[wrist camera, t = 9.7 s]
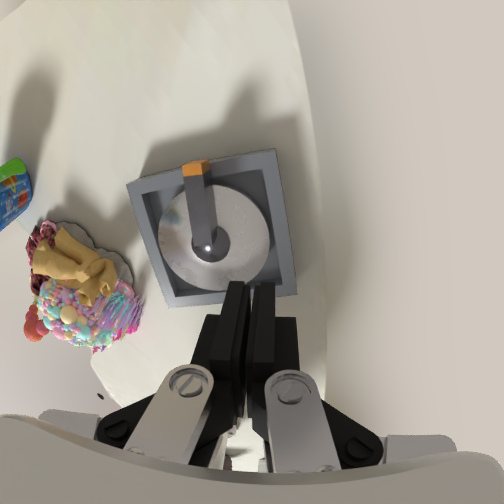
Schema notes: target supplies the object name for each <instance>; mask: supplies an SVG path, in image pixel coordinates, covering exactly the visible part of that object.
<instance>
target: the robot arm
mask: <svg viewBox="0 0 504 504" xmlns="http://www.w3.org/2000/svg"><path fill="white" fill-rule="evenodd" d="M246 392H247V412H248V418H252V429H253V430H254V431H255V432H256V433H257V434H258V435H260V436H261V437H262V438H263V447H264V455H265V463H266V471H267V473H260V472H243V471H231V470H223V464H224V458H225V451H226V445H227V438H230V437H232V436H233V435H235V433H236V429H237V426H236V424H237V417H241V418H243V415H244V406H245V398H246ZM0 504H504V470H503V469H502V467H501V465H500V464H499V463H498V462H497V461H496V460H495V459H494V458H493V457H490V456H489V455H485V454H481V453H477V452H467V451H465V452H457V449H456V446H455V443H454V442H453V441H452V439H451V438H449V437H447V436H445V435H387V437H378V436H376V435H375V434H374V433H373V432H371V431H370V430H368V429H366V428H365V427H363V426H361V425H360V424H358V423H357V422H355V421H354V420H352V419H350V418H349V417H347V416H346V415H344V414H343V413H341V412H340V411H338V410H337V409H335V408H334V407H332V406H330V405H329V404H327V403H326V402H325V401H323V400H322V399H321V398H320V395H319V392H318V388H317V385H316V383H315V381H314V380H313V379H312V378H311V377H310V376H309V375H308V374H306V373H304V372H302V371H300V366H299V352H298V338H297V325H296V317H275V282H261V283H260V285H255V287H254V295H253V303H252V311H251V288H250V285H245V281H229V285H228V288H227V292H226V295H225V299H224V303H223V306H222V310H221V314H220V315H214V314H207V315H206V317H205V320H204V323H203V326H202V329H201V332H200V335H199V338H198V341H197V344H196V347H195V350H194V354H193V357H192V360H191V363H190V364H187V365H181V366H179V367H176V368H174V369H173V370H171V371H170V372H169V373H168V374H167V376H166V377H165V379H164V380H163V382H162V384H161V385H160V387H159V389H158V390H157V392H156V393H155V394H153V395H151V396H148V397H146V398H144V399H142V400H140V401H138V402H136V403H133V404H131V405H129V406H127V407H124V408H122V409H120V410H118V411H115V412H113V413H111V414H109V415H107V416H105V417H104V418H100V417H99V415H96V414H85V413H77V412H69V411H61V410H55V409H53V410H47V411H44V412H43V413H42V414H41V415H40V416H39V418H38V419H37V418H34V417H29V416H25V415H17V414H3V415H0Z"/></svg>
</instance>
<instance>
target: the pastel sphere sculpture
mask: <svg viewBox="0 0 504 504" xmlns="http://www.w3.org/2000/svg"><path fill="white" fill-rule="evenodd" d="M32 238H33V240H32V239H31V237H29V239H28V242H27V245H26V250H27V253H28V256H29V258H28V262H29V264H30V267H31V275H30V276H29V278H30V287H31V290H32V294H33V298H34V300H35V301H34V302H33V305H31V306H30V307H29V311H28V312H27V314H26V322H25V325H24V333H25V335H26V337H27V338H28V339H29V340H30V341H34V342H36V341H39V340H41V339H42V337H43V335H46V334H48V332H49V330H50V331H52V332H53V333H54V335H55V337H57V338H58V339H60V340H64V341H67V342H69V343H70V344H71V345H72V346H75V347H78V348H80V347H85V346H89V347H93V349H94V350H93V351H92V352H93V354H94V353H95V352H97V350H98V349H101V348H102V349H101V350H104V349H107V348H108V347H111V346H112V344H113V342H114V341H115V340H122V339H123V337H124V336H125V334H126V333H128V334H131V333H132V332H136V331H137V324H138V322H139V320H140V319H139V320H138V322H137V319H138V318H139V316H140V313H141V312H142V311H141V308H142V306H143V305H142V306H141V307H140V309H139V311H138V304H139V303H140V301H141V300H139V302H138V303H137V299H138V297H139V296H140V294H139V295H138V296H136V297H137V298H136V297H135V298H134V296H135V292H134V291H133V289H132V287H131V286H132V283H133V278H132V275H131V272H130V269H129V267H128V265H127V264H126V263H124V261H123V259H122V257H121V256H119V255H118V254H117V253H116V252H107V251H106V250H105V249H103V248H99V249H96V248H95V247H94V245H93V242H92V240H91V238H89V237H88V236H87V234H86V232H85V231H84V230H83V229H81V228H80V227H79V226H78V225H76V224H75V223H72V224H68V223H66V222H60V223H56V225H55V224H54V223H51V222H50V221H49V220H46V221H45V222H43V223H42V226H41V230H39V229H38V227H37V226H36V225H35V228H34V230H33V233H32ZM37 306H38V308H39V309H40V310H41V311H42V313H43V315H44V317H43V320H39V318H38V315H37V312H38V308H37ZM135 307H136V309H135ZM137 311H138V313H137V316H136V318H135V319H134V316H135V315H136V312H137ZM136 322H137V323H136ZM116 334H117V338H115V340H114V339H113V337H114V336H115V335H116ZM119 338H120V339H119ZM101 352H102V351H101Z"/></svg>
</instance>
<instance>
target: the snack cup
mask: <svg viewBox="0 0 504 504" xmlns="http://www.w3.org/2000/svg"><path fill="white" fill-rule="evenodd" d="M28 176H29V175H28V174H27V173H26V167H25V165H24V163H23V161H22V160H21V159H19V158H14V159H12V160H11V161H9V162H8V163H6V164H4V165H3V166H1V167H0V231H2V229H4V228H5V227H6V226H7V225H9V224H10V223H11V222H12V221H13V220H14V219H16V218H17V217H18V216H19V215H20V214H22V213H23V212H24V211H25V210H26V209H27V207H28V206H29V203H30V201H31V198H32V195H31V185H30V181H29V177H28Z"/></svg>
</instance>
